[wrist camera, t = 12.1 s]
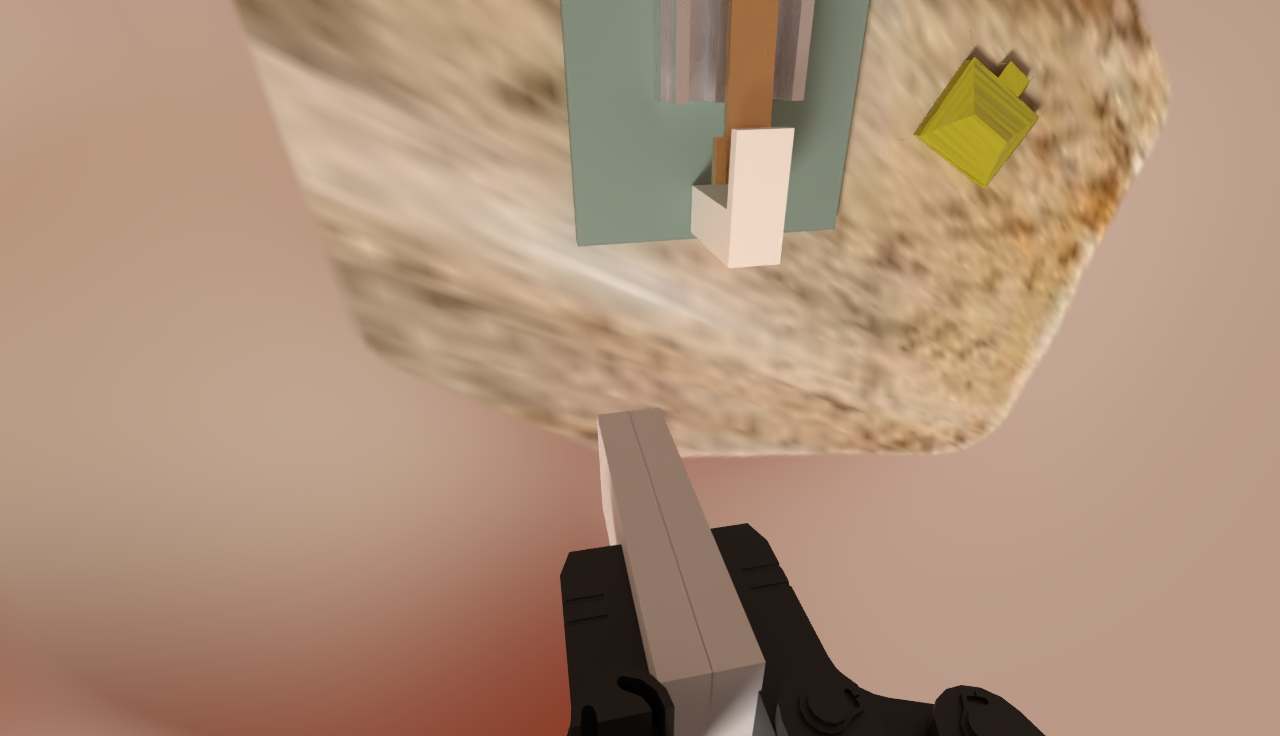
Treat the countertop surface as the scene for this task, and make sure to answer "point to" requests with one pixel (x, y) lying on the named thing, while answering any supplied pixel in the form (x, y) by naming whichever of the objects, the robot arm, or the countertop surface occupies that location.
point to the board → (690, 125)
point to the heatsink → (721, 50)
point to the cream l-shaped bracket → (747, 199)
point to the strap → (746, 75)
